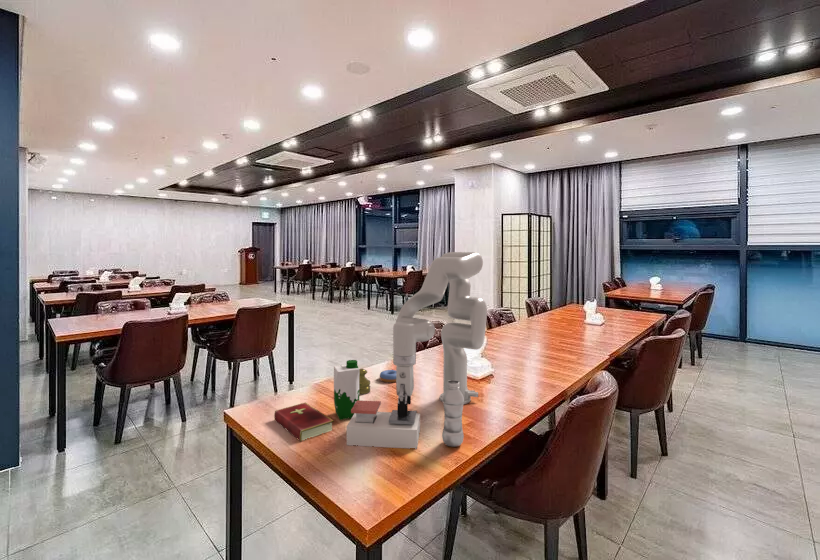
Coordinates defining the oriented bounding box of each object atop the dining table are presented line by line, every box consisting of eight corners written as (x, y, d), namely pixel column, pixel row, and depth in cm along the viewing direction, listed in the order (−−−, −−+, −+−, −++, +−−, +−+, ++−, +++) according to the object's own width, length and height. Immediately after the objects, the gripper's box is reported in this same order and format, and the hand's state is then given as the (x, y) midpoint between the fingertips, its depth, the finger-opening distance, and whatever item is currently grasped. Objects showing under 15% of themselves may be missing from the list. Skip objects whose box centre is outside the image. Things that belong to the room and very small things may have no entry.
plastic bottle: (440, 439, 124) (440, 378, 122) (461, 438, 124) (461, 378, 123) (443, 450, 118) (444, 385, 116) (465, 449, 118) (466, 385, 117)
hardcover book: (300, 443, 123) (300, 430, 122) (274, 421, 139) (274, 410, 138) (333, 431, 131) (333, 419, 130) (305, 412, 146) (305, 401, 146)
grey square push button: (416, 429, 128) (416, 410, 128) (414, 441, 120) (414, 421, 120) (392, 428, 129) (392, 409, 129) (388, 440, 121) (388, 420, 121)
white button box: (420, 430, 130) (419, 413, 130) (416, 448, 118) (416, 429, 118) (356, 427, 132) (355, 410, 132) (346, 445, 121) (346, 426, 120)
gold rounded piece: (367, 395, 162) (367, 372, 162) (350, 394, 164) (350, 371, 163) (372, 389, 170) (372, 367, 169) (356, 388, 171) (356, 366, 170)
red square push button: (380, 420, 129) (380, 401, 129) (376, 431, 121) (376, 411, 121) (357, 419, 130) (357, 400, 130) (351, 429, 122) (351, 410, 122)
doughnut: (405, 380, 181) (404, 370, 181) (386, 385, 175) (385, 375, 175) (394, 376, 189) (393, 367, 189) (376, 381, 184) (375, 371, 184)
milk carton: (362, 417, 141) (361, 363, 139) (337, 421, 137) (336, 366, 136) (355, 408, 149) (355, 357, 147) (332, 412, 145) (331, 360, 144)
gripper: (413, 367, 119) (412, 421, 120) (418, 352, 136) (417, 400, 137) (389, 366, 120) (389, 419, 121) (396, 352, 137) (396, 399, 138)
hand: (404, 409), depth 129 cm, fingers open, 9 cm apart
